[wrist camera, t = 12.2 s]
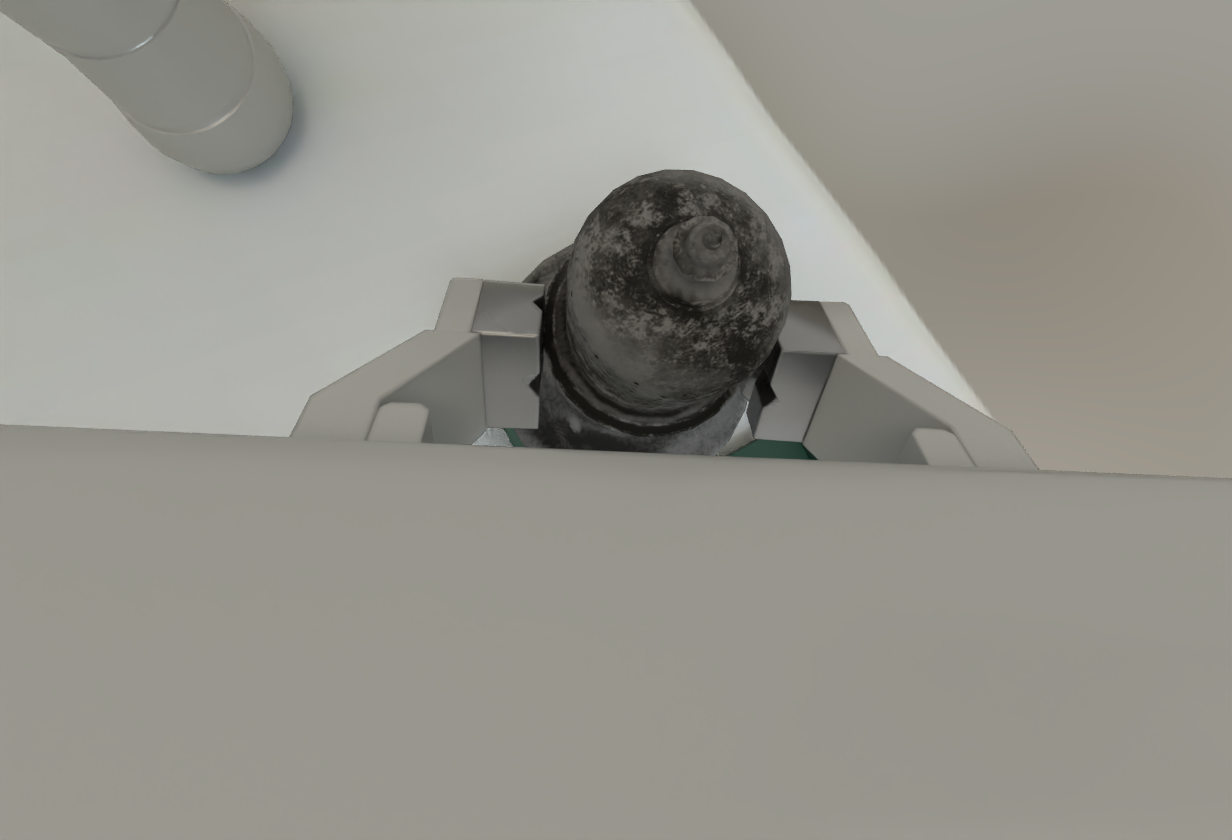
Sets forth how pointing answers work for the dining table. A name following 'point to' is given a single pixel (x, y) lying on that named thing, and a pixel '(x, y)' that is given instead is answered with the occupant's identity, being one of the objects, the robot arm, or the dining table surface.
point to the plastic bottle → (175, 73)
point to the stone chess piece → (659, 318)
